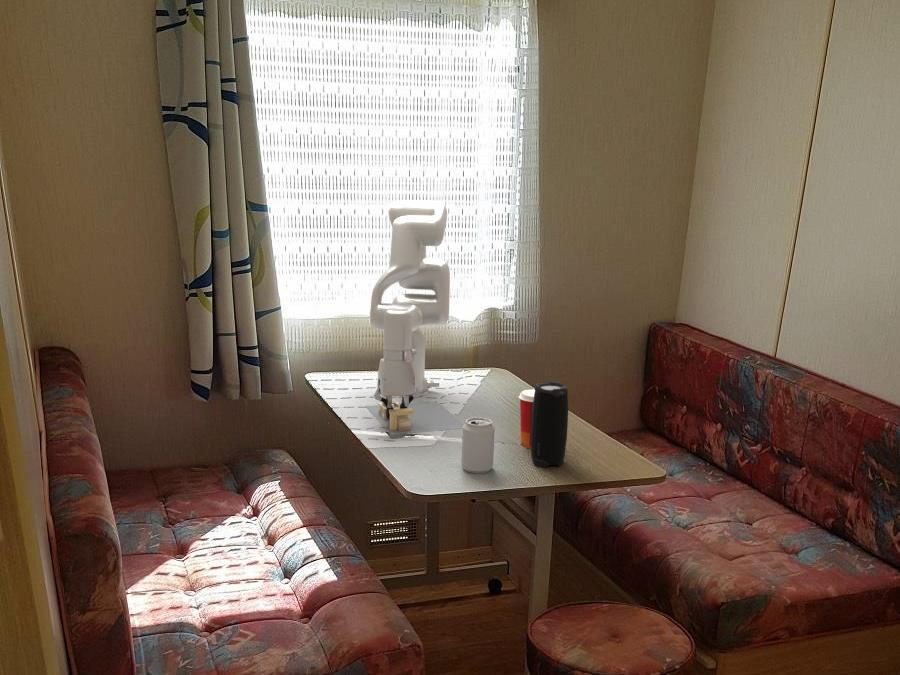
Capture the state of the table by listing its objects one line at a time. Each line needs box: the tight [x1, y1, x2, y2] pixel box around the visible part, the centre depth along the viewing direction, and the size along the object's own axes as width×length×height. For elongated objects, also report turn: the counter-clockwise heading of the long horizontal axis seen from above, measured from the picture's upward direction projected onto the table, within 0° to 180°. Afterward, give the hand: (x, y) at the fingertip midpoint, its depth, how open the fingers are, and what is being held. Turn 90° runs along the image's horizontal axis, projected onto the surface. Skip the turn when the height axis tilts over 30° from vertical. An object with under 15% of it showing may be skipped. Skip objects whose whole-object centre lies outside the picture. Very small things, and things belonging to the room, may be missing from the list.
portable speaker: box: [530, 381, 569, 469], centre depth 196 cm, size 9×9×20 cm
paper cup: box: [518, 389, 535, 449], centre depth 209 cm, size 8×8×14 cm
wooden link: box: [378, 401, 411, 431], centre depth 223 cm, size 17×5×3 cm, turn 20°
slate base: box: [365, 400, 466, 439], centre depth 228 cm, size 22×27×6 cm
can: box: [461, 417, 496, 474], centre depth 191 cm, size 8×8×12 cm
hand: (396, 419), depth 223 cm, fingers closed on wooden link, 2 cm apart
